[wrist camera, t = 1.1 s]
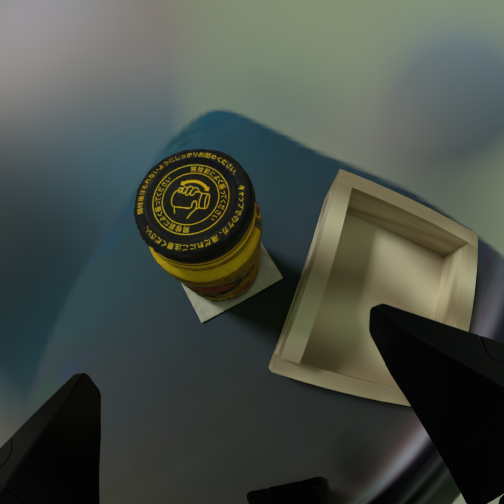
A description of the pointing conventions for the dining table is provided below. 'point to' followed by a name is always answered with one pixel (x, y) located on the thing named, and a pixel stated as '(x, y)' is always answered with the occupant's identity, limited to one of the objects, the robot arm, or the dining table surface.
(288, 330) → the tan square tray
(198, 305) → the condiment
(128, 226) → the dining table surface
